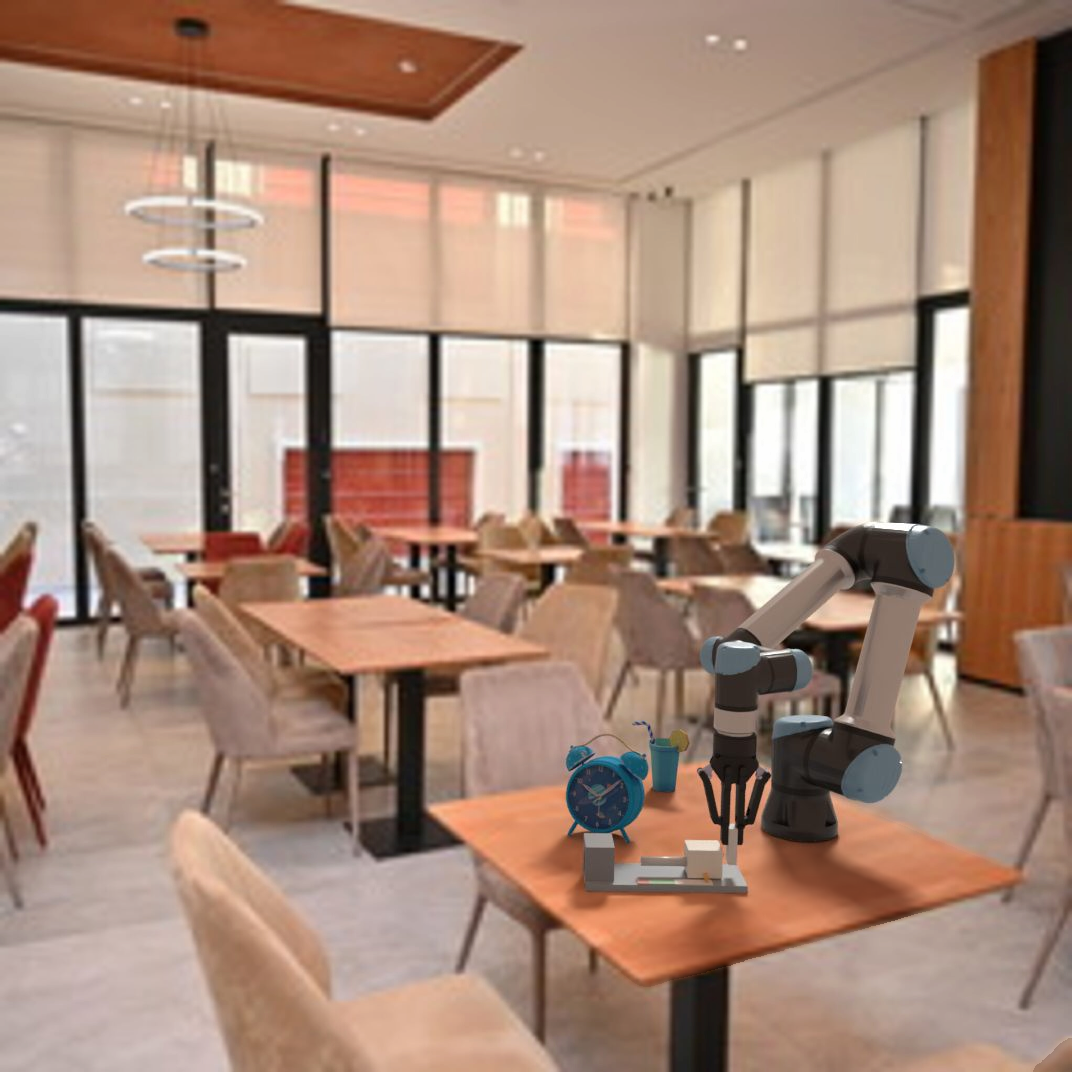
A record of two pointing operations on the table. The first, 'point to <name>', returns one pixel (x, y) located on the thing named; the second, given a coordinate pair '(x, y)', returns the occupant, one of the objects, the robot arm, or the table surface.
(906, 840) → the table surface
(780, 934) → the table surface
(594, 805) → the alarm clock
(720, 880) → the gauge board
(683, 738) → the cup
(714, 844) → the plunger
